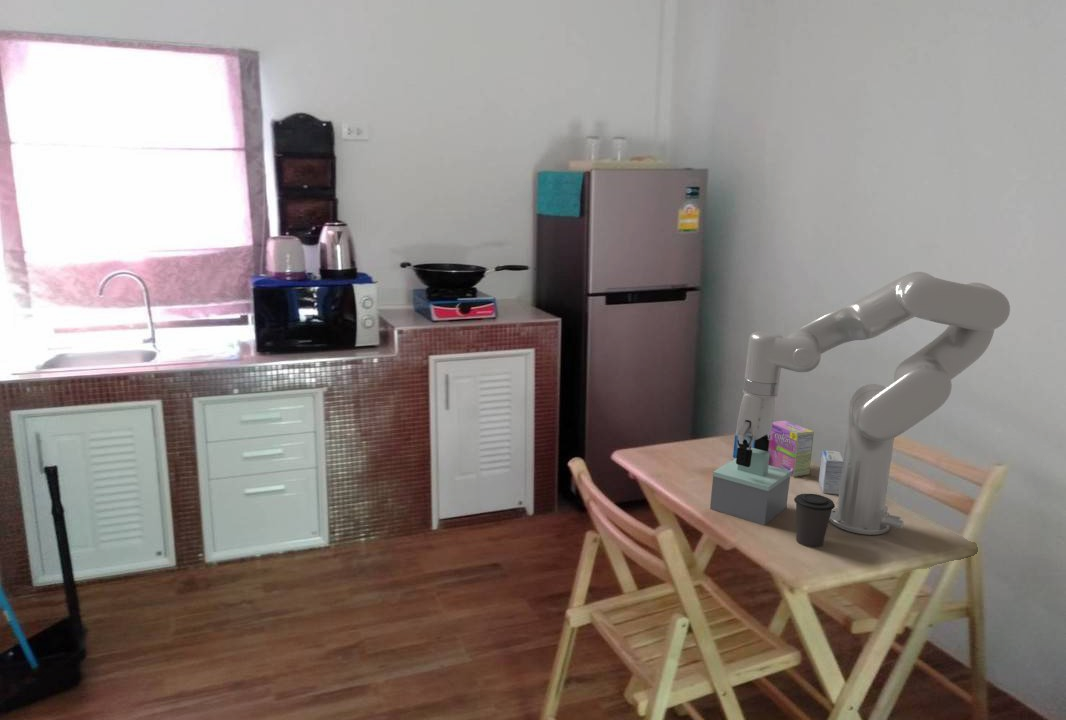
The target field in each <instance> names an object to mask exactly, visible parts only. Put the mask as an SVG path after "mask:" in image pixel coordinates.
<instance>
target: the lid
mask: <svg viewBox="0 0 1066 720" xmlns="http://www.w3.org/2000/svg"><path fill="white" fill-rule="evenodd" d="M751 450H752V457H751V465H750V467H745V466H742V465H738V464H736V458H734V459H731V460H730V461H729V462H727V463H725V464H724V465H722V466H720V467H719V468H717V469H715V470H714V471H712V477H713V476H715V477H719V478H722V479H726V480H729V481H733V482H737V483H740V484H744V485H748V486H751V487H755V488H759V489H762V490H766V491H769V490H771V489H772V488H774V487H775V486H776V485H778V484H779V483H781V482H782V481H783V480H785V479H786V478H788V477H789V476H790V477H791V471H789V470H785V469H781V468H777V467H773V466H770V465H769V456H770V452H768V451H763V450H759V449H755V448H751Z"/></svg>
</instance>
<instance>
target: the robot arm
mask: <svg viewBox="0 0 1066 720" xmlns="http://www.w3.org/2000/svg"><path fill="white" fill-rule="evenodd" d="M1010 312H1011V305H1010V303H1009V300H1008V298H1007V296H1006V295H1005V294H1004V293H1002V292H1001V291H999V290H998V289H995V288H993V287H992V286H989V285H988V284H986V283H985V284H984V283H980V282H970V283H966V284H965V283H960V282H955V281H950V280H948V279H947V280H946V279H942V278H938V277H935V276H933V275H931V274H929V273H927V272H923V271H914V272H913V271H912V272H910V273H907V274H905V275H903V276H901V277H899V278H898V279H895V280H894V281H892V282H890V283H888V284H886V285H884V286H883V287H880V288H879V289H877V290H875V291H873V292H871V293H870V294H867V295H865V296H864V297H862V298H860V299H858V300H856V301H854V302H851V303H850V304H847V305H845V306H843V307H840V308H838V309H837V310H835V311H832V312H829V313H827V314H825V315H823V316H821V317H819V318H816V319H815V320H813V321H811V322H809V323H808V324H805V325H803V326H802V327H801V326H800V328H798V329H796V330H794V331H793V332H791V333H790V334H789V335H788V336H787V337H786V338H785V337H784V336H783V335H781V334H779V333H777V332H773V331H761V330H760V331H759V330H758V331H754V332H752V333H751V334H750V335H749V339H748V344H747V345H748V346H747V354H746V362H745V363H746V364H745V370H744V371H745V372H744V379H743V389H742V393H743V396H742V399H741V402H740V407H739V412H738V417H737V422H736V423H737V424H736V430H735V435H737V436H738V440H737V442H738V445H737V447H738V450H737V458H736V464H738V465H742V466H745V467H750V465H751V457H752V450H751V447H752V444H753V442H754V440H755V445H754V448H755V449H759V450H763V451H768V448H769V439H770V436H771V435H770V431H771V430H772V424H773V422H774V417H775V416H774V415H775V404H776V402H775V401H776V398H777V397H778V395H779V388H780V379H781V372H782V369H784V370H788V371H791V372H796V373H809V372H811V371H813V370H815V369H816V368H818V366H819V364H820V362H821V358H822V355H823V353H826V352H828V351H830V350H831V349H833V348H836V347H838V346H840V345H844V344H846V343H849V342H854V341H866V340H871V339H873V338H877V337H879V336H880V335H882V334H884V333H886V332H888V331H889V330H891V329H894V328H896V327H897V326H899V325H902V324H903V323H905V322H907V321H909V320H912V319H913V318H918V319H922V320H925V321H930V322H931V323H932V322H934V323H937V324H943V325H947V327H946V329H945V330H944V331H943V332H942V333H941V334H939V335H938V336H937V337H936V338H934V339H933V340H932V341H930V342H929V343H928V344H926V345H925V346H924V347H922V348H920V349H919V350H917V351H916V352H914V354H912V355H910V356H909V357H907V358H906V359H904V360H903V361H901V363H899V365H898V366H897V367H896V368H895V370H894V373H893V374H894V375H893V379H894V381H893V382H892V383H891V384H889V385H887V386H886V387H885V386H883V385H880V384H877V383H869V384H865V385H863V386H861V387H859V388H858V389H857V390H856V391H855V392H854V393H853V395H852V396H851V399H850V400H849V407H848V413H847V414H848V415H847V416H848V417H847V428H846V429H847V430H846V440H845V448H844V455H843V460H844V461H843V468H842V476H841V483H840V491H839V495H838V500H837V508H833V509H832V511H831V515H830V519H829V522H830V523H831V524H833V525H834V526H835V527H838V528H839V529H841V530H844V531H847V532H851V533H854V534H859V535H866V536H868V535H869V536H872V535H873V536H875V535H881V534H885V533H887V532H888V531H889V529H890V527H892V528H895V529H898V530H902V529H903V527H904V523H905V521H904V520H902V519H901V518H902V517H901V516H898V515H893V514H890V512H888V509H889V507H888V506H887V505H885V504H886V497H887V490H888V484H889V478H890V477H889V476H890V469H891V466H892V465H891V464H892V457H893V453H894V452H893V451H894V440H895V438H897V437H899V436H901V435H902V434H904V433H905V432H907V431H908V430H910V429H911V428H913V427H914V426H916V425H917V424H919V423H920V422H922V421H923V420H925V419H926V418H927V417H929V416H931V415H932V414H934V413H935V412H936V411H937V410H939V409H940V408H941V407H942V406H943V405H944V404H945V403H946V402H947V400H948V399H949V397H950V395H951V392H952V380H953V379H954V378H956V377H957V376H959V375H960V374H961V373H962V372H964V371H965V370H966V369H967V368H969V367H970V366H971V365H973V364H974V363H976V362H977V360H979V359H980V358H982V357H981V356H983V355H984V354H985V352H986V351H987V349H988V348H989V346H990V343H991V342H992V340H993V336H994V333H995V330H997V329H998V328H1000V327H1002V325H1004V324H1005V323H1006V322H1007V320H1008V319H1009V317H1010ZM746 434H748V435H746ZM749 435H752V436H749ZM745 439H747V440H750V441H749V443H748V442H747V440H745ZM767 439H768V440H767Z"/></svg>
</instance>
